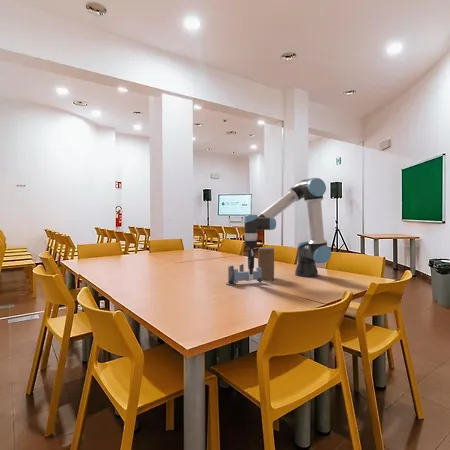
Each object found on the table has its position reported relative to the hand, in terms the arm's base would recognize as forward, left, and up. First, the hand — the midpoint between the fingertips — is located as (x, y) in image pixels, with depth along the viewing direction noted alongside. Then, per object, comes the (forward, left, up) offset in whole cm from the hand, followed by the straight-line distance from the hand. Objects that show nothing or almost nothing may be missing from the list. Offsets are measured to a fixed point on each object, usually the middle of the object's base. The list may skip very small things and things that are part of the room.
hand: (251, 279), depth 186 cm
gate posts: (+8, -8, -3) cm, 12 cm away
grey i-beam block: (+2, -2, -2) cm, 4 cm away
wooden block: (-12, -15, -3) cm, 19 cm away
